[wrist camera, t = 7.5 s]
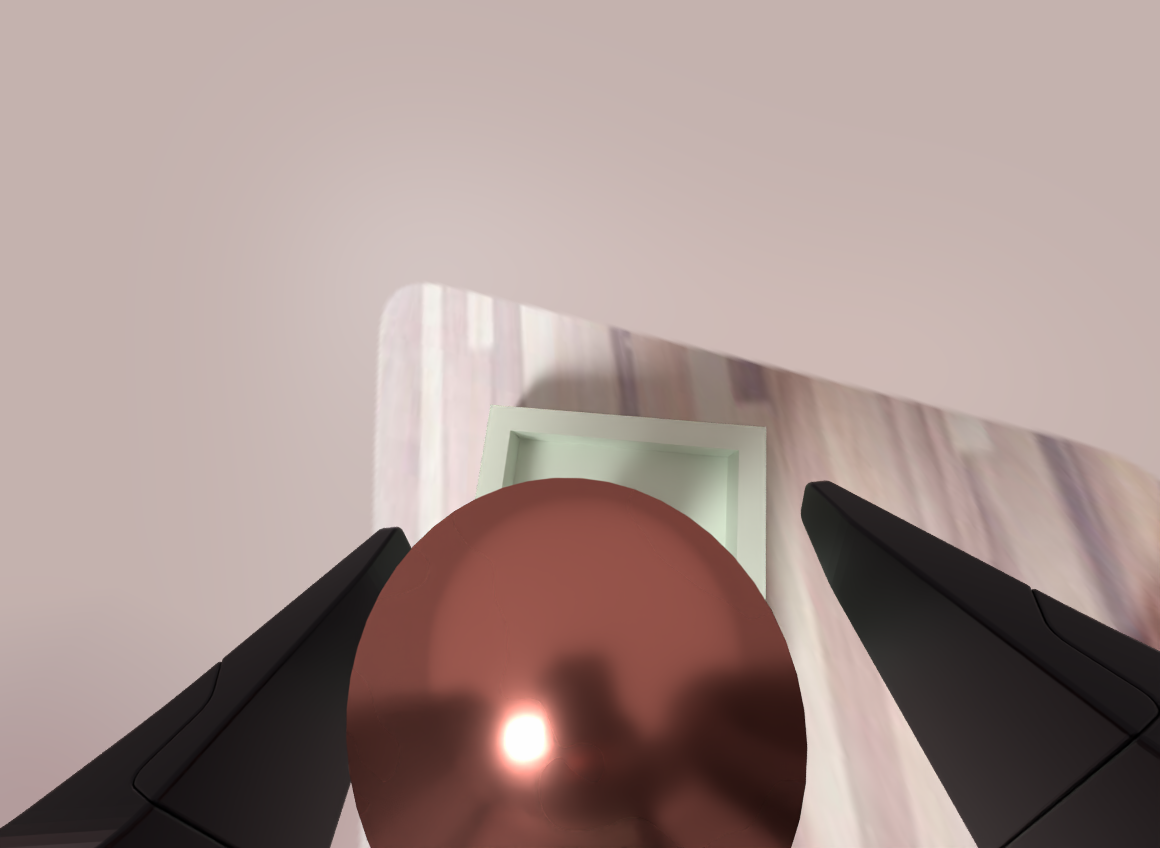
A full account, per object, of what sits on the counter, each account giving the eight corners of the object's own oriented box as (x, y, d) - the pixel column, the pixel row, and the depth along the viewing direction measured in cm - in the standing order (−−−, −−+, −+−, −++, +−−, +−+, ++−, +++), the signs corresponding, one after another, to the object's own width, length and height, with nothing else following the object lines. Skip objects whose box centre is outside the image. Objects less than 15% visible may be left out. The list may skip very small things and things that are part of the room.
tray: (742, 720, 16) (765, 755, 13) (466, 676, 17) (441, 701, 15) (746, 440, 18) (766, 427, 16) (506, 419, 19) (490, 404, 17)
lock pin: (687, 600, 16) (899, 926, 3) (575, 635, 16) (394, 1063, 4) (647, 487, 17) (698, 422, 5) (543, 521, 17) (315, 550, 5)
